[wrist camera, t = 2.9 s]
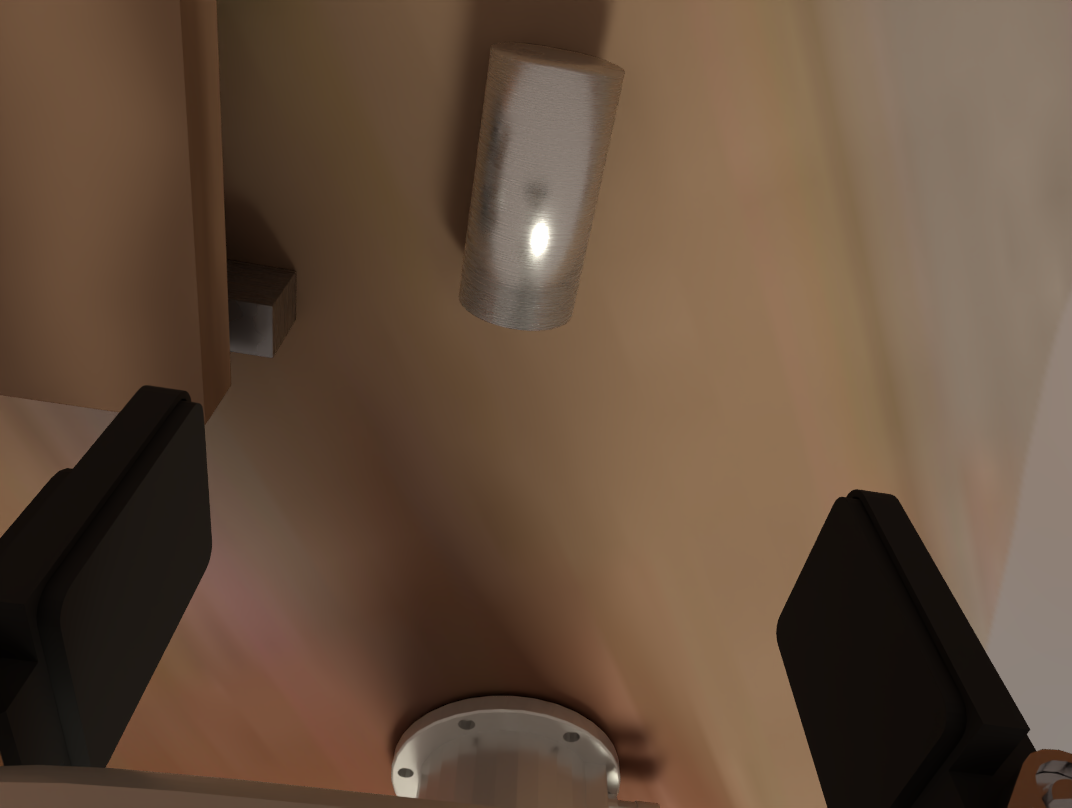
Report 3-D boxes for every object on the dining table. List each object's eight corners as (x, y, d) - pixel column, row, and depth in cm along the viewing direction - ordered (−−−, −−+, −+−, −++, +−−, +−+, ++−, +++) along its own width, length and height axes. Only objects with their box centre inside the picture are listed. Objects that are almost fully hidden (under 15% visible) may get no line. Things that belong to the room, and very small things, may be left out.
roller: (618, 59, 25) (631, 84, 22) (570, 287, 30) (575, 338, 26) (493, 36, 25) (488, 58, 22) (463, 271, 29) (453, 319, 26)
